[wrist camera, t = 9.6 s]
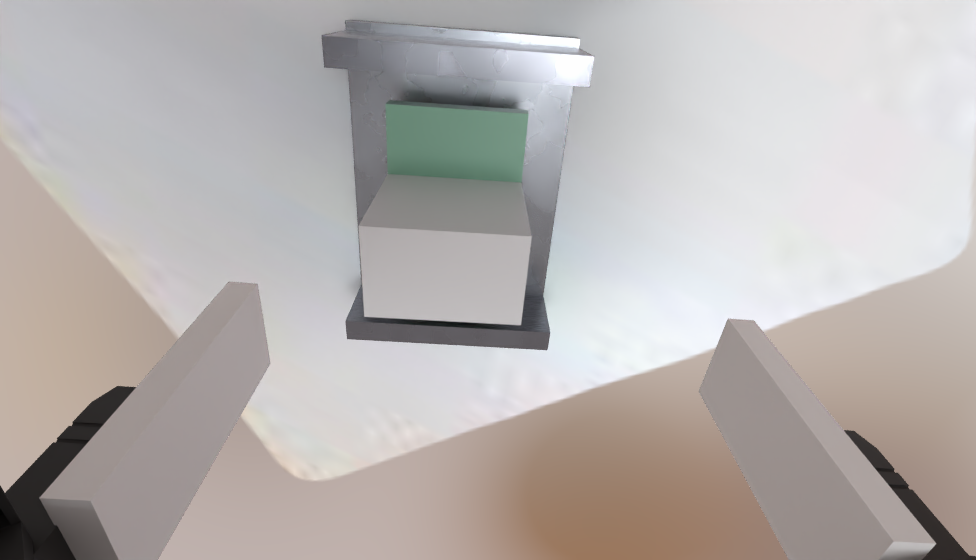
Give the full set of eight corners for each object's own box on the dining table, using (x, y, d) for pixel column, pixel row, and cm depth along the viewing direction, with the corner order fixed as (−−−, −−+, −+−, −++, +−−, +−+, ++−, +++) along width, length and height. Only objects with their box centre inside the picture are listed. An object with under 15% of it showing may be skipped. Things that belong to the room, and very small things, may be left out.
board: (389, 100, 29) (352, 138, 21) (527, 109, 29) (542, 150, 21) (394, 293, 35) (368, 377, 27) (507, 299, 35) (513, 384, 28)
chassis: (349, 19, 30) (320, 24, 25) (577, 38, 31) (596, 45, 26) (365, 299, 40) (347, 344, 35) (538, 309, 41) (546, 355, 35)
